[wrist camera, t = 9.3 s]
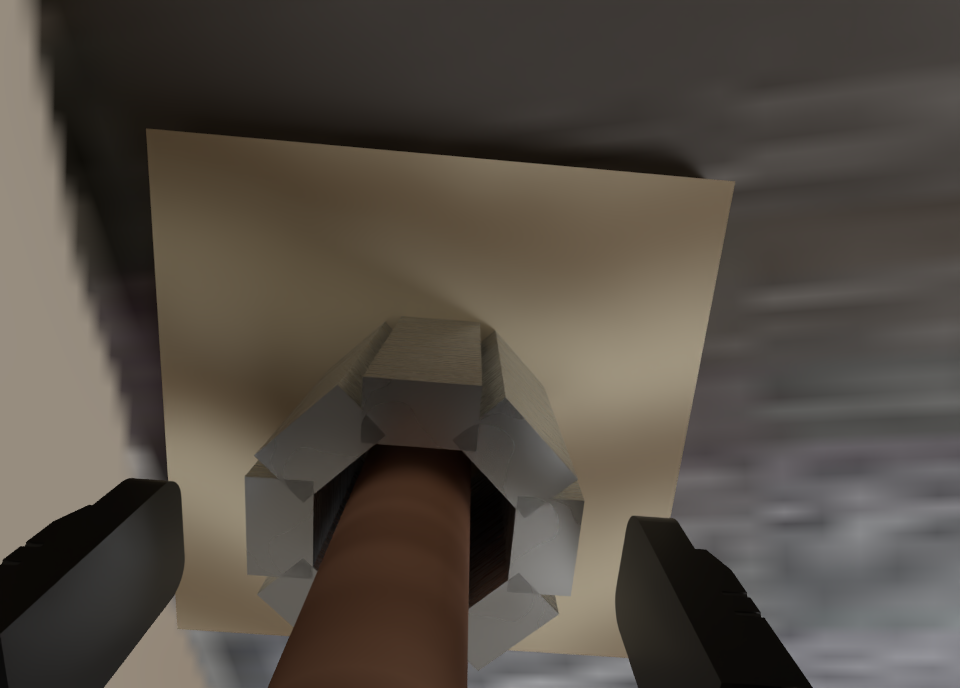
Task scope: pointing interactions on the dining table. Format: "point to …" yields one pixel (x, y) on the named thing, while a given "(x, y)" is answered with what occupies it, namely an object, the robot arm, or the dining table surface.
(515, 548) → the ring
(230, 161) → the post stand
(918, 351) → the dining table surface
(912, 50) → the dining table surface
